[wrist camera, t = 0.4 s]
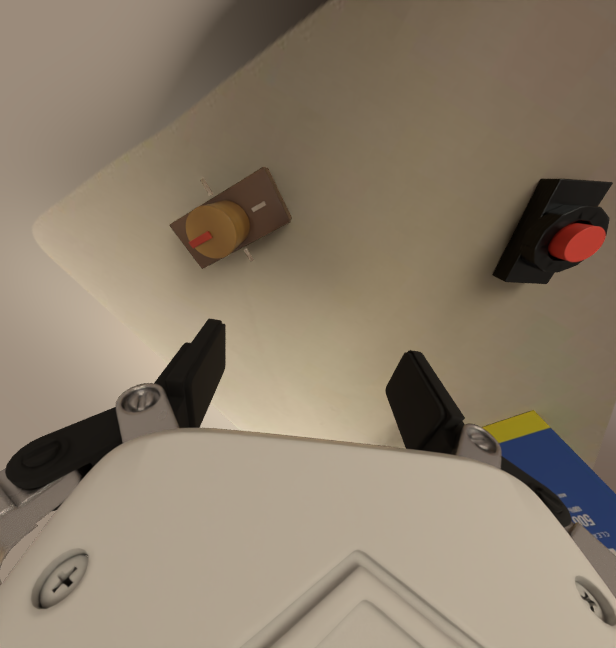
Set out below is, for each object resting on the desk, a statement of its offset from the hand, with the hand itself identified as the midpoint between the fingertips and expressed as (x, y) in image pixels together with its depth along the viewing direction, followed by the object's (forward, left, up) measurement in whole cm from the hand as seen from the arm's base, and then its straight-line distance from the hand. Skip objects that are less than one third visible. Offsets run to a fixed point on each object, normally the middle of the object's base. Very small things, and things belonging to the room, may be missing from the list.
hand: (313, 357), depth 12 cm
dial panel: (+4, -8, -18) cm, 20 cm away
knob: (+4, -8, -15) cm, 18 cm away
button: (-22, +12, -14) cm, 29 cm away
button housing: (-22, +12, -18) cm, 31 cm away
